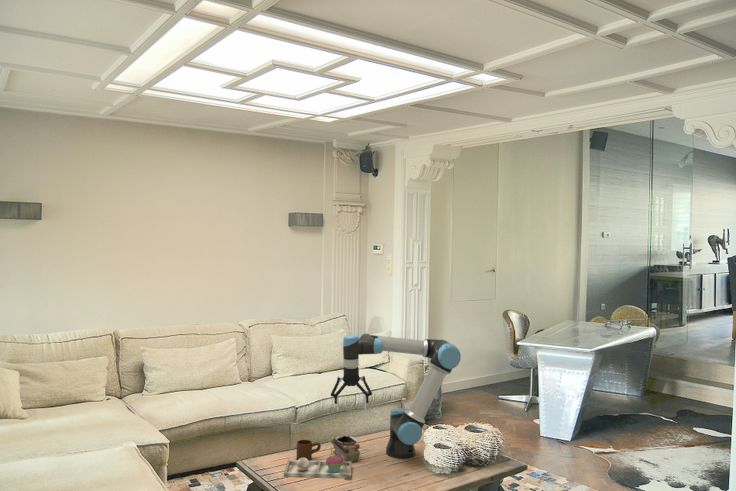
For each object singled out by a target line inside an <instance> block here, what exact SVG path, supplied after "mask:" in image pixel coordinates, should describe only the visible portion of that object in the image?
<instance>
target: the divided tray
mask: <svg viewBox="0 0 736 491" xmlns="http://www.w3.org/2000/svg"><path fill="white" fill-rule="evenodd" d="M343 462H344V463H343V465H341V467H340V470H339V472H338V473H331V472H330V471H329V468H328V465H326V460H311V461H309V467H308V469H307V470H305V471H301V470H299V469H298V468H297V459H296V460H292V459H291V460H289V459H288V460H287V461H286V466H285V468H284V471H283V477H284V478H286V477H287V478H315V479H316V478H323V479H327V478H328V479H344V480H345V481H347V480H348V481H350V480H352V462H345V461H343Z"/></svg>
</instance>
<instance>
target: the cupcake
mask: <svg viewBox="0 0 736 491" xmlns="http://www.w3.org/2000/svg"><path fill="white" fill-rule="evenodd" d="M330 453H331V455H330V456H328V457H327V458H326V459H325V461H326V465H328V468H329V471H330V472H331V473H338V472H339V470H340V467H341V465H343V463H344V462H345V461H344V460H343V459H342V458H341V457H340V456H338V455H334V452H333V447H330Z"/></svg>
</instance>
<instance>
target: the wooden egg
mask: <svg viewBox="0 0 736 491" xmlns="http://www.w3.org/2000/svg"><path fill="white" fill-rule="evenodd" d="M308 467H309V461H308V459H306V458H304V457H303V458H300V459H299V460H298V461H297V468H298V469H299V470H301V471H305V470H307V469H308Z"/></svg>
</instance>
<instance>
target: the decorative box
mask: <svg viewBox="0 0 736 491" xmlns="http://www.w3.org/2000/svg"><path fill="white" fill-rule="evenodd" d="M330 443H331V444H332V445H333V448H334V451H335V454H336V455H335V456H340V457H341V458H342V459H343V462H351V463H353V462H355V461H359V460H360V455H361V451H360V450H359V449H360V444H359V443H358V442H357V439H356V438H355V437H354V436H351V435H349V434H346V435H336V436H333V437H331V438H330Z"/></svg>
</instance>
